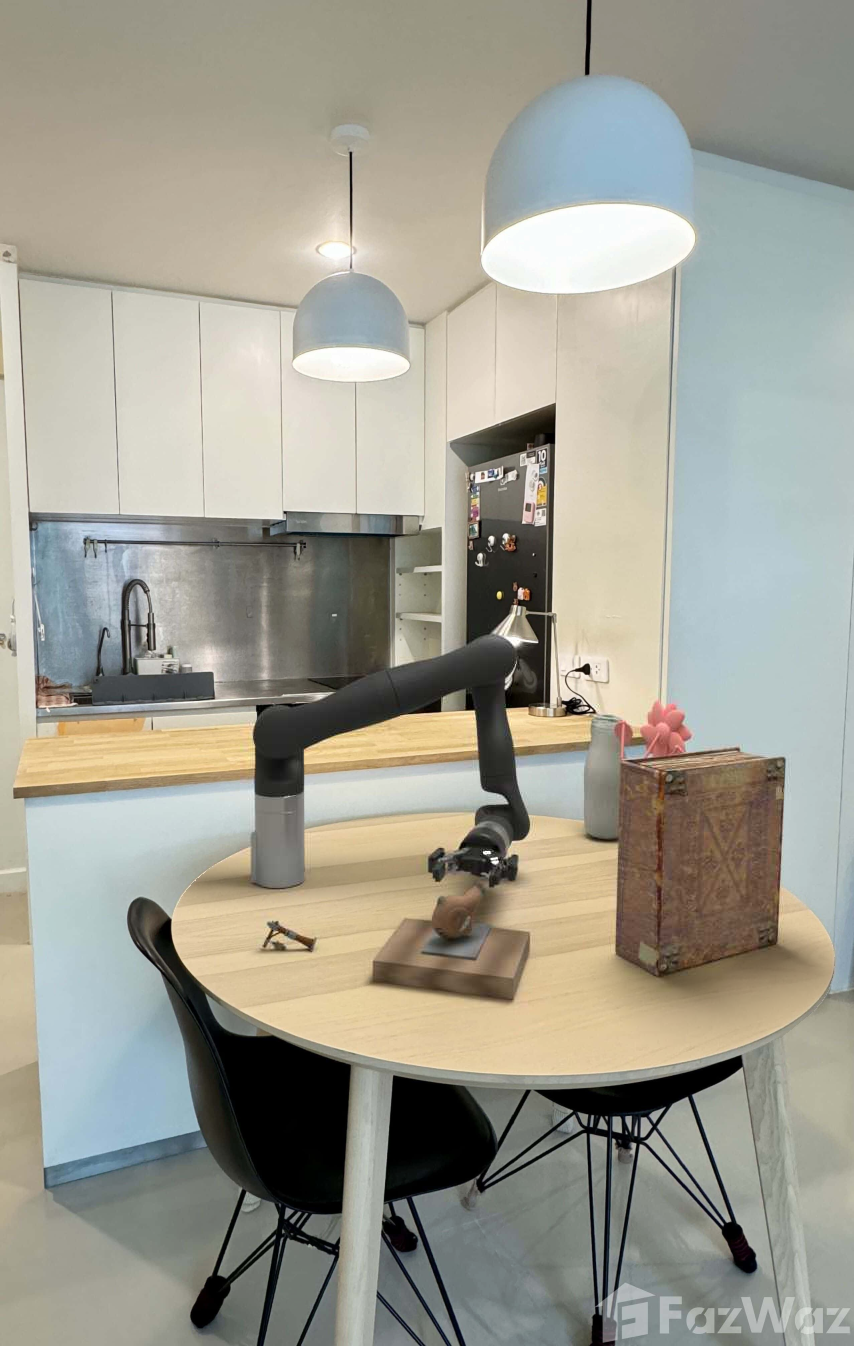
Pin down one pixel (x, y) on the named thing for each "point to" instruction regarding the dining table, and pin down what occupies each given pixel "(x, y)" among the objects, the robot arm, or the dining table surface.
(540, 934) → the dining table surface
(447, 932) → the oil lamp
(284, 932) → the wooden blunderbuss cannon
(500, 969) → the wooden block
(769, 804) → the book
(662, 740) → the pink flower ornament
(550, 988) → the dining table surface
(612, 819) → the glass bottle
